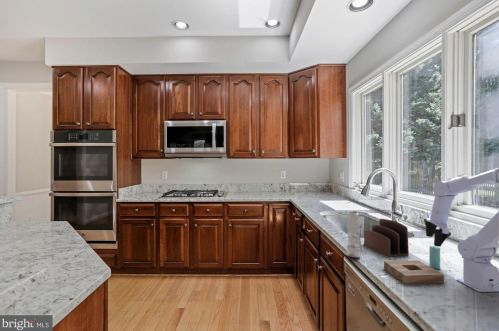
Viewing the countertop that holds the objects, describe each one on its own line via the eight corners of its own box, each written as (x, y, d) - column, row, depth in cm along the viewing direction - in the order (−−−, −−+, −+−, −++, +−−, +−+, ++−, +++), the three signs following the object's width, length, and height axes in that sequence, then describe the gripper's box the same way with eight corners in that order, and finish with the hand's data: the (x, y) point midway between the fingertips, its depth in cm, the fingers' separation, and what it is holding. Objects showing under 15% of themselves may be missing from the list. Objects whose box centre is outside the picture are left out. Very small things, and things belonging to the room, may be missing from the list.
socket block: (444, 283, 97) (444, 274, 97) (405, 284, 96) (405, 275, 96) (417, 267, 111) (417, 260, 111) (383, 268, 110) (383, 261, 110)
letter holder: (380, 243, 144) (380, 216, 144) (409, 256, 125) (409, 225, 125) (363, 244, 143) (363, 217, 142) (389, 257, 123) (389, 226, 123)
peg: (442, 269, 109) (442, 248, 109) (433, 269, 109) (433, 249, 109) (435, 265, 113) (435, 246, 113) (427, 265, 113) (427, 246, 113)
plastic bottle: (358, 254, 127) (357, 211, 127) (364, 259, 120) (364, 213, 120) (344, 254, 127) (344, 211, 127) (350, 259, 120) (350, 214, 120)
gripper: (422, 202, 116) (415, 231, 120) (437, 216, 102) (429, 249, 106) (440, 204, 115) (433, 233, 118) (459, 219, 101) (450, 251, 105)
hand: (433, 241), depth 112 cm, fingers open, 7 cm apart
